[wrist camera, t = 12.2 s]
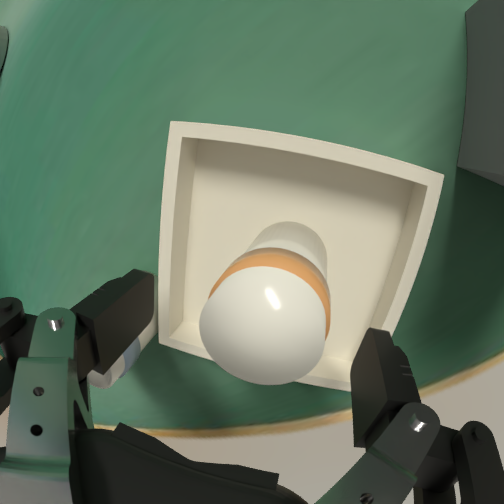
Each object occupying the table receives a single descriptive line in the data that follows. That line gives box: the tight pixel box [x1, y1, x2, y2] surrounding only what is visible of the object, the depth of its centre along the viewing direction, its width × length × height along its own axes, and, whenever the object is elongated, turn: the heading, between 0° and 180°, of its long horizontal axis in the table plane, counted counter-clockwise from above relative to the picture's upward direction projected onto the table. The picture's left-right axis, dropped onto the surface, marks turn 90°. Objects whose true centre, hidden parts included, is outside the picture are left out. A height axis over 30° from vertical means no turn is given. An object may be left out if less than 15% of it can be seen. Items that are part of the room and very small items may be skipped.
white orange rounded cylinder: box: [199, 221, 331, 385], centre depth 12 cm, size 4×4×7 cm
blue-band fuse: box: [88, 270, 159, 389], centre depth 16 cm, size 4×4×7 cm
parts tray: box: [158, 121, 444, 391], centre depth 15 cm, size 12×12×2 cm
